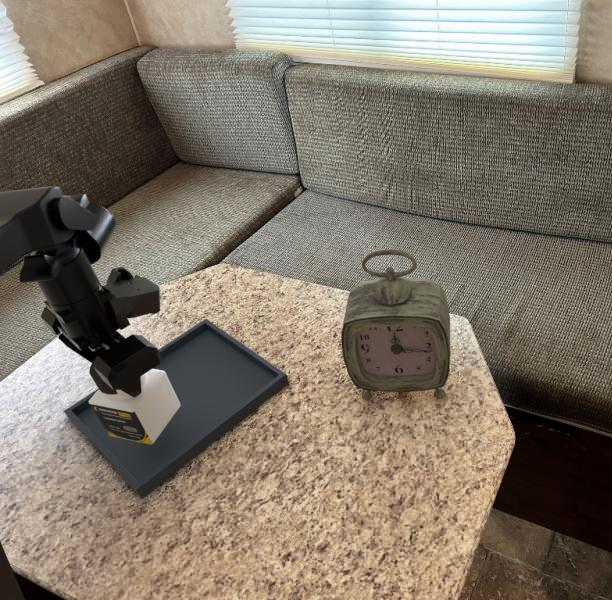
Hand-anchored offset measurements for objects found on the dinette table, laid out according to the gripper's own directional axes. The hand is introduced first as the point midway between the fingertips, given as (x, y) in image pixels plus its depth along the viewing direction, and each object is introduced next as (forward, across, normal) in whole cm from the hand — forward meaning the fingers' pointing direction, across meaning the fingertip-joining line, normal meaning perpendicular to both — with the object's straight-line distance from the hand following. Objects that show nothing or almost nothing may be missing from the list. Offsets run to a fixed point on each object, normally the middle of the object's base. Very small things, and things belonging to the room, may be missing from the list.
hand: (124, 383), depth 79 cm
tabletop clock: (+13, -21, -30) cm, 39 cm away
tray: (+13, +5, -7) cm, 15 cm away
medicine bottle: (+8, 0, 0) cm, 8 cm away
